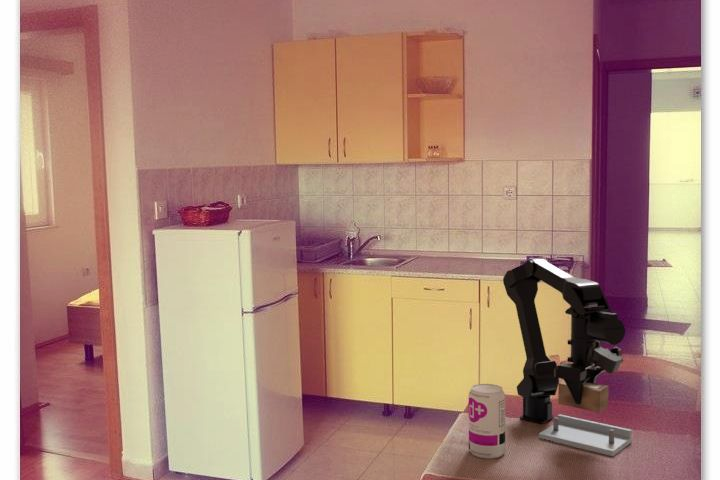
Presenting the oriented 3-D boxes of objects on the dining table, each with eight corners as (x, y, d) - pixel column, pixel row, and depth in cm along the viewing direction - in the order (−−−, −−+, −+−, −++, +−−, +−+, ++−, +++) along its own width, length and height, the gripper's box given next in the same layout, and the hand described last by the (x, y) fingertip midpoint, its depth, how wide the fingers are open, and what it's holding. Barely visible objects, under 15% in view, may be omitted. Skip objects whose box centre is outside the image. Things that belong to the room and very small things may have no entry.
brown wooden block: (558, 403, 167) (558, 382, 167) (567, 398, 171) (567, 377, 171) (599, 412, 161) (599, 390, 160) (608, 407, 165) (608, 385, 164)
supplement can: (483, 462, 155) (483, 395, 154) (461, 450, 163) (461, 386, 161) (512, 455, 159) (512, 390, 158) (490, 443, 166) (489, 381, 165)
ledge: (538, 438, 169) (538, 421, 169) (559, 425, 177) (559, 409, 177) (613, 456, 157) (613, 438, 157) (631, 442, 166) (631, 424, 165)
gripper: (601, 348, 152) (600, 418, 154) (633, 333, 166) (632, 398, 168) (553, 341, 160) (552, 408, 161) (587, 327, 174) (586, 389, 175)
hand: (582, 401), depth 166 cm, fingers closed on brown wooden block, 5 cm apart
